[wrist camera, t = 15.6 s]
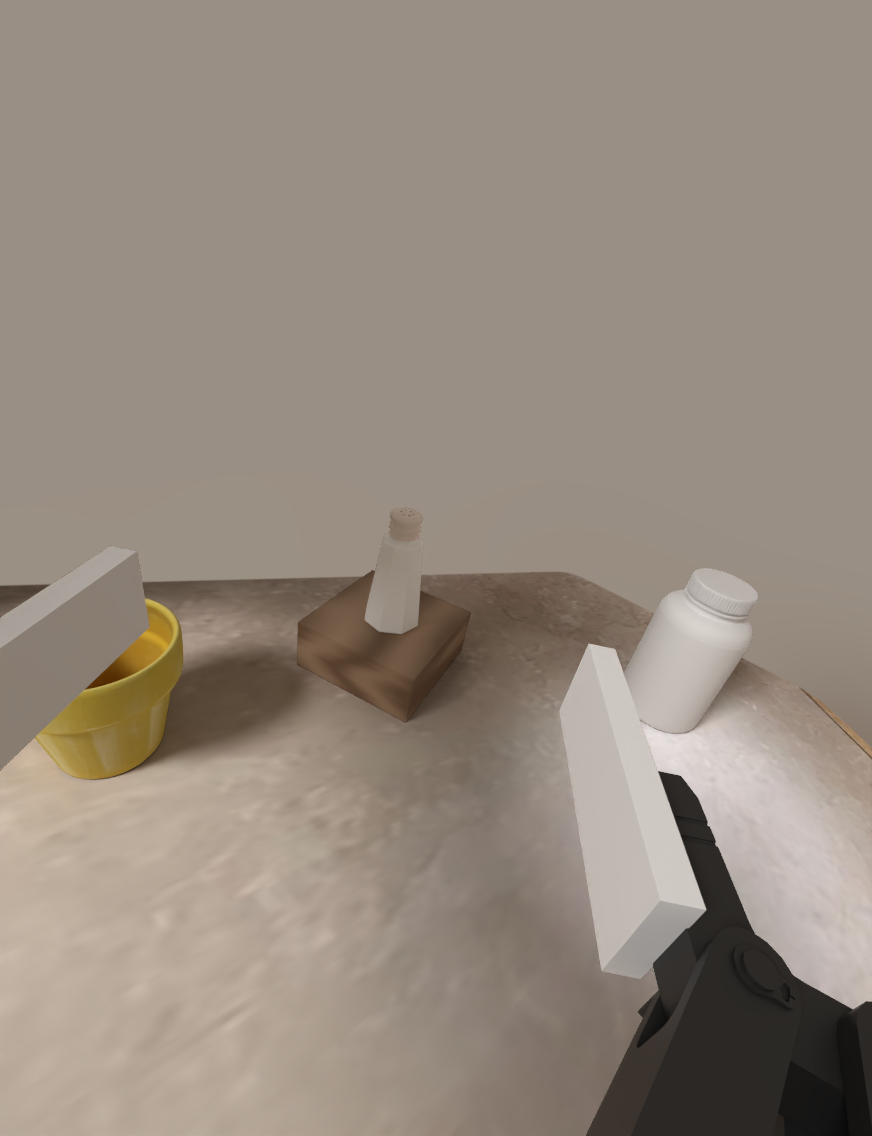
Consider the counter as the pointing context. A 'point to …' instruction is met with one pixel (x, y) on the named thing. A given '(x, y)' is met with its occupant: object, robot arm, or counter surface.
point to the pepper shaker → (397, 575)
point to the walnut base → (381, 649)
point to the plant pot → (120, 705)
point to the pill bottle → (690, 650)
